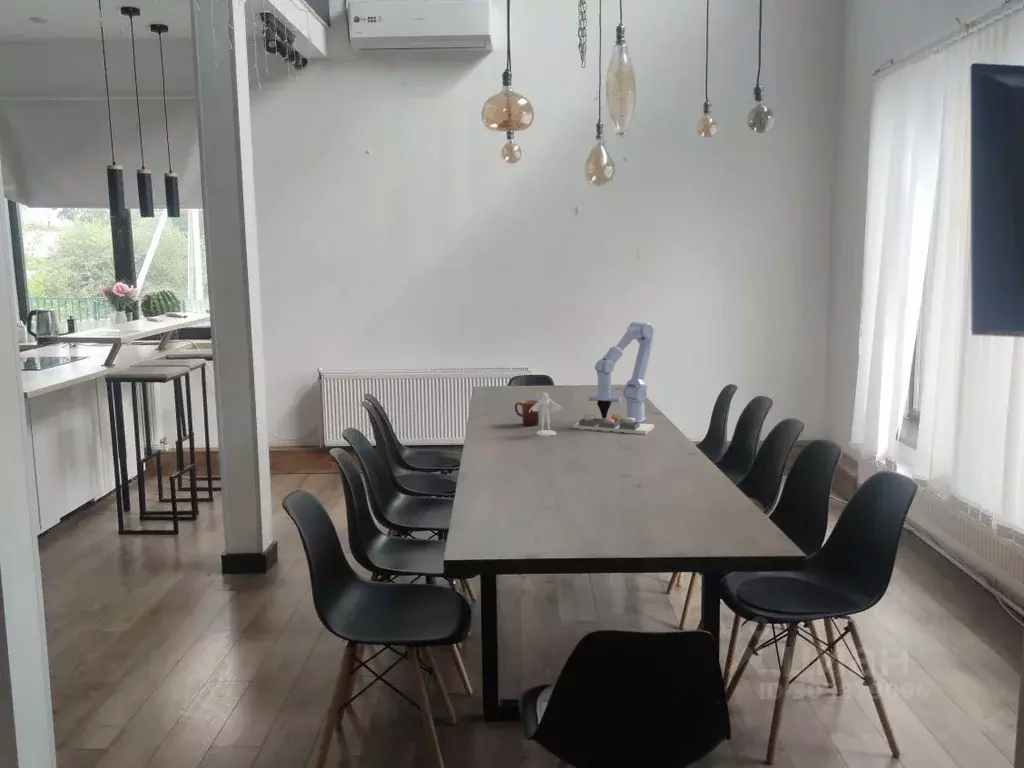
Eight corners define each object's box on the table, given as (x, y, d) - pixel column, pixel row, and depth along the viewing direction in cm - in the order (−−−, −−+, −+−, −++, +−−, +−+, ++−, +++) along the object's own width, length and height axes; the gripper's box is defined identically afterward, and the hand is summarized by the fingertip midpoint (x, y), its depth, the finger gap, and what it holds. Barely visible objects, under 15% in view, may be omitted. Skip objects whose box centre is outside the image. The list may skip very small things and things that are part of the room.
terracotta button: (605, 424, 348) (605, 418, 347) (615, 425, 346) (616, 419, 345) (602, 426, 343) (602, 420, 343) (612, 427, 342) (612, 421, 341)
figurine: (529, 436, 334) (528, 393, 331) (530, 430, 345) (529, 389, 342) (564, 436, 334) (563, 393, 331) (563, 430, 344) (563, 389, 341)
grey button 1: (585, 419, 351) (585, 414, 351) (595, 420, 349) (595, 414, 349) (582, 421, 347) (582, 416, 347) (592, 422, 345) (592, 416, 345)
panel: (583, 422, 360) (583, 414, 359) (654, 427, 347) (654, 419, 346) (573, 428, 348) (573, 420, 347) (645, 434, 334) (645, 426, 334)
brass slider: (614, 421, 353) (614, 413, 352) (621, 421, 352) (621, 413, 351) (611, 423, 349) (611, 414, 349) (618, 423, 348) (618, 415, 347)
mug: (543, 423, 359) (543, 400, 357) (535, 427, 351) (534, 404, 350) (519, 421, 365) (519, 399, 363) (510, 425, 357) (510, 402, 355)
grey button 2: (625, 422, 344) (625, 416, 343) (636, 423, 342) (636, 417, 341) (622, 424, 340) (622, 419, 339) (633, 425, 338) (633, 419, 337)
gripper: (585, 387, 350) (585, 418, 352) (617, 389, 344) (617, 420, 346) (590, 385, 356) (590, 415, 358) (622, 386, 350) (622, 417, 352)
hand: (604, 417), depth 352 cm, fingers closed
